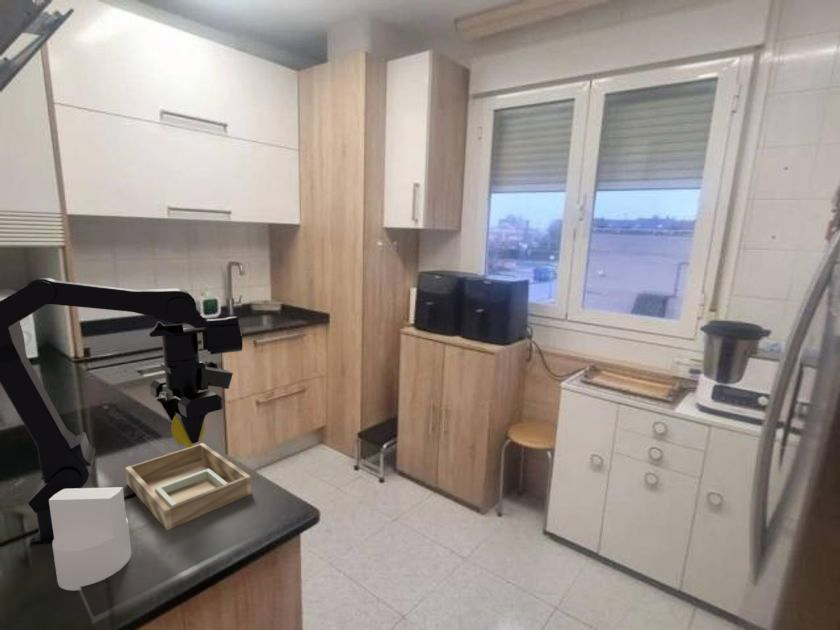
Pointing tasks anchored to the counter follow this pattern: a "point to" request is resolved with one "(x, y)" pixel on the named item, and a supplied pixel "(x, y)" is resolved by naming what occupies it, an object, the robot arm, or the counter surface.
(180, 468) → the walled box
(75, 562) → the grey upright block
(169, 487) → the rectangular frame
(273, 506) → the counter surface
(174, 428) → the lemon
